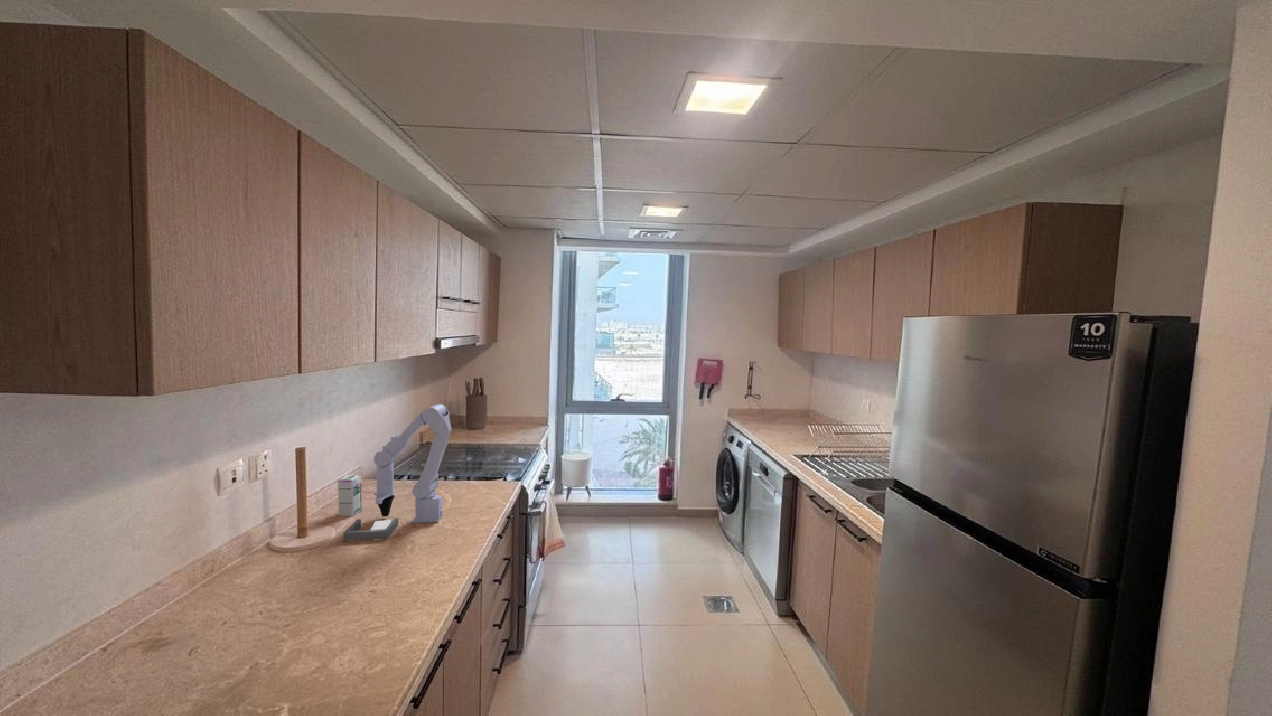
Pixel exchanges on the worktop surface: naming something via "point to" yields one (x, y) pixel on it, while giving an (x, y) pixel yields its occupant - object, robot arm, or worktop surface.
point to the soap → (380, 525)
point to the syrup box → (349, 495)
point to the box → (368, 532)
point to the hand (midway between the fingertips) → (385, 515)
